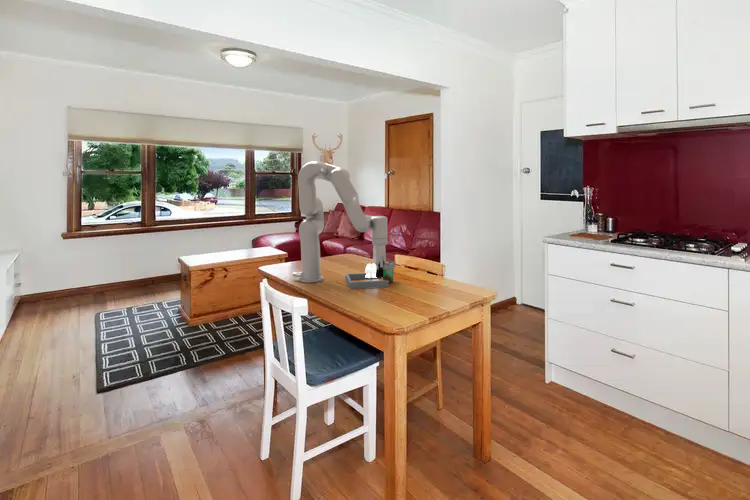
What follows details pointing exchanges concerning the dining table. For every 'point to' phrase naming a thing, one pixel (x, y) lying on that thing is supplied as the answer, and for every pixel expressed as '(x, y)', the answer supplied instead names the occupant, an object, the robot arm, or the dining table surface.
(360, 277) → the low box
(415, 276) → the dining table surface
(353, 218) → the robot arm
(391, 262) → the food container
